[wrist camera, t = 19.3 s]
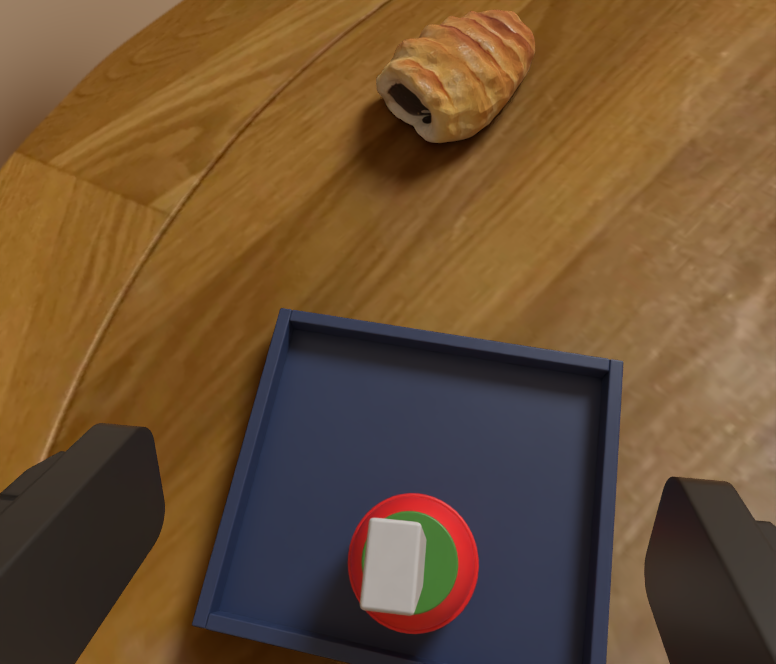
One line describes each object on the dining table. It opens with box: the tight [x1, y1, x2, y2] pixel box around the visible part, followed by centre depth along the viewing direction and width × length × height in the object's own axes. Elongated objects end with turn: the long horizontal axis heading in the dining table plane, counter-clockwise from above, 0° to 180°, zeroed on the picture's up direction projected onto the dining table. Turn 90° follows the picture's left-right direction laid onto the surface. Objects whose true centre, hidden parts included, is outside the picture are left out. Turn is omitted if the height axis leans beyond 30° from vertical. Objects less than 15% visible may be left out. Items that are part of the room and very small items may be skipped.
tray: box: [192, 308, 623, 664], centre depth 26 cm, size 16×14×2 cm
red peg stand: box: [348, 493, 479, 634], centre depth 18 cm, size 5×5×15 cm
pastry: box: [376, 10, 535, 143], centre depth 33 cm, size 9×7×4 cm
